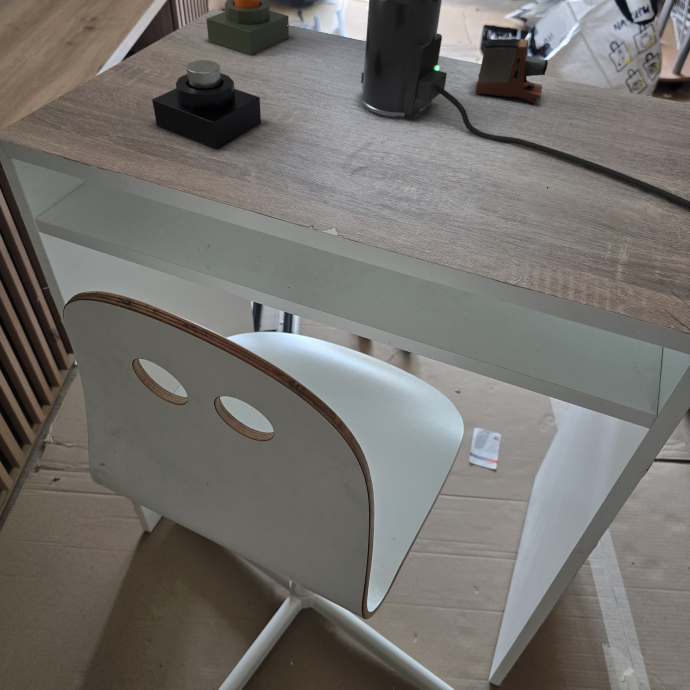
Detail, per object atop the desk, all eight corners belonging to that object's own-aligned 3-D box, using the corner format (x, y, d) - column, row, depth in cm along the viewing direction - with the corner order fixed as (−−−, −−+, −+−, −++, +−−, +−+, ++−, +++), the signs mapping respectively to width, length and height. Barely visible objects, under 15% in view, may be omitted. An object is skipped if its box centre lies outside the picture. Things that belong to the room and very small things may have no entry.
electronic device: (538, 105, 88) (553, 52, 83) (473, 95, 90) (484, 41, 84) (540, 94, 91) (555, 41, 86) (477, 84, 93) (487, 31, 87)
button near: (228, 84, 76) (226, 65, 74) (206, 95, 73) (204, 75, 71) (203, 76, 77) (201, 57, 75) (182, 86, 74) (179, 67, 73)
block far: (247, 25, 105) (244, -10, 101) (288, 38, 102) (288, 2, 98) (208, 41, 99) (204, 4, 95) (251, 55, 96) (249, 17, 92)
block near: (261, 123, 80) (259, 81, 76) (216, 149, 74) (211, 106, 70) (203, 102, 83) (198, 61, 79) (156, 125, 78) (149, 83, 74)
